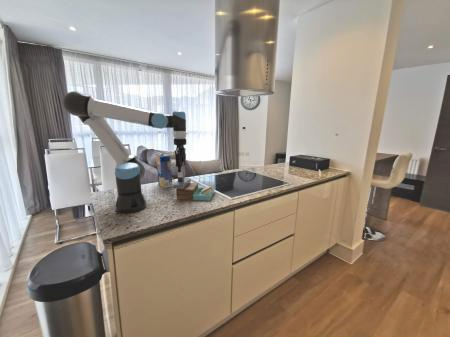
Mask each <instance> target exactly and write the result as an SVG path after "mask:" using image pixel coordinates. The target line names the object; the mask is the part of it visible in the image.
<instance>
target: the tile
mask: <svg viewBox="0 0 450 337" xmlns="http://www.w3.org/2000/svg"><path fill="white" fill-rule="evenodd" d="M203 188H204V189H203V190H202V191H201V194H202V195H207V194H209V193H211V192H212V190H213V189H212V188H213V187H212V186H211V185H209V186H207V187H203Z"/></svg>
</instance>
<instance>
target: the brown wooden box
mask: <svg viewBox="0 0 450 337" xmlns="http://www.w3.org/2000/svg"><path fill="white" fill-rule="evenodd" d="M198 188H199V183H198V182H190V183H189V184H188V185H187V186H186V187H185V188H184V189H175V193H176V194H175V195H176V200H193V195H194V193H195V192H196V191H197V189H198ZM193 201H194V200H193Z"/></svg>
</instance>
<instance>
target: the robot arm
mask: <svg viewBox="0 0 450 337" xmlns="http://www.w3.org/2000/svg"><path fill="white" fill-rule="evenodd" d="M62 106H63V109H64V110H65V111H66V112H67V113H69V114H70V115H72V116H76V117H78V118H79V120H80V121H81V122H82V124H84V125H87V126H88V127H89V128H90V129H91V130H92V132H93V133H94V134H95V136H96V138H98V140H99V141H100V142H101V144H102V145H103V147H104V148H105V150H107V152H108V153H109V155H110V156H111V158H112V159H113V160H114V162H116V163H115V165H116V166H115V168H114V175H115V183H116V191H117V198H116V201H115V208H114V209H115V211H116V212H117V213H121V214H128V213H129V214H130V213H131V214H132V213H136V212H139V211H142V210H144V209H145V208H146V207H147V201H146V199H145V196H144V194H143V192H142V190H143V189H142V179H143V178H144V176H145V170H146V168H145V166H144V164H143V163H142V162H140V161H139V160H138V158H136V156H135V155H132V154H131V153H130V152H129V151H128V149H127V148H126V147H125V145H124V144H123V142H122V141H121V139H120V138H119V137H118V135H117V134H116V133H115V131H114V130H113V128H112V127H111V125H110V124H109V123H108V121H107V120H106V119H111V120H115V121H120V122H125V123H132V124H136V125H141V126H147V127H151V128H153V129H159V130H161V129H172V135H173V136H172V137H173V145H174V146H176V148H175V149H174V154H175V155H174V157H175V167H176V168H177V178H178V177H183V174H182V162H184V166H186V165H187V164H186V150H187V149H186V147H185V145H187V134H188V132H187V118H186V116H187V115H186V111H183V110H176V111H175V110H174V111H172V113H171V114H164V113H162V112H155V111H151V110H146V109H141V108H136V107H132V106H128V105H122V104H118V103H114V102H109V101H104V100H101V99H100V100H99V99H96V98H95V96H92V95H90V94H87V93H83V92H80V91H76V90H75V91H70V92H68V93H65V94H64V96H63V98H62Z"/></svg>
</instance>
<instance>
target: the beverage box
mask: <svg viewBox="0 0 450 337" xmlns="http://www.w3.org/2000/svg"><path fill="white" fill-rule="evenodd" d="M155 157H156V168H157V170H156V171H157V181H158V185H159V186H160V187H161V188H163V189H165V188H169V187H171V188H172V187H173V175H172V174H173V173H172V159H171V155H168V154H167V153H166V154H156V156H155Z"/></svg>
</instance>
